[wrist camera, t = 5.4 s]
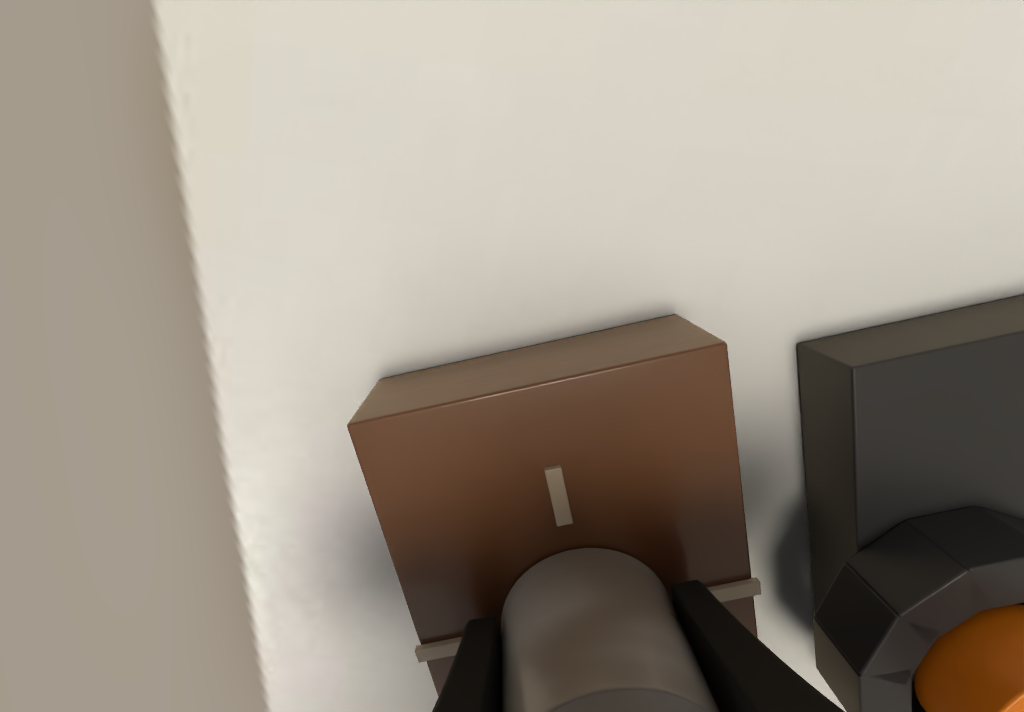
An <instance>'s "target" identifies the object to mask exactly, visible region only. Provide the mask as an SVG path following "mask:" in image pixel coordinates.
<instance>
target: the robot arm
mask: <svg viewBox="0 0 1024 712" xmlns="http://www.w3.org/2000/svg"><path fill="white" fill-rule="evenodd" d="M671 592H672V600H673V607H674V609H675V611H676V614H677V616H678V618H679V620H680V623H681V625H682V627H683V629H684V632H685V634H686V636H687V638H688V641H689V643H690V645H691V647H692V650H693V652H694V654H695V656H696V659H697V661H698V663H699V665H700V668H701V670H702V672H703V674H704V677H705V679H706V681H707V683H708V685H709V688H710V690H711V692H712V694H713V697H714V699H715V701H716V703H717V706H718V708H719V710H720V712H844V711H843V710H842V709H840V708H839V707H838V706H837V705H835V704H834V703H833V702H831V701H830V700H829V699H828V698H826V697H825V696H824V695H823V694H821V693H820V692H819V691H818V690H816V689H815V688H814V687H813V686H811V685H810V684H809V683H808V682H807V681H805V680H804V679H803V678H802V677H801V676H799V675H798V674H797V673H796V672H795V671H793V670H792V669H791V668H790V667H789V666H788V665H786V664H785V663H784V662H783V661H782V660H781V659H780V658H778V657H777V656H776V655H775V654H774V653H773V652H772V651H771V650H770V649H769V648H767V647H766V646H765V645H764V644H763V643H762V642H761V641H760V640H759V639H758V638H756V637H755V636H754V635H753V634H752V633H751V632H750V631H749V630H748V629H747V628H746V627H745V626H744V625H743V624H742V623H741V622H740V621H739V620H738V619H737V618H736V617H735V616H734V615H733V614H732V613H731V612H730V611H729V610H728V609H727V608H726V607H725V606H724V605H723V604H722V603H721V602H720V601H719V600H718V599H717V598H716V597H715V596H714V595H713V594H712V593H711V592H710V591H709V590H708V589H707V587H706V586H705V585H704V584H703V583H702V582H700V581H699V580H691V581H686V582H680V583H675V584H671ZM432 712H502V654H501V636H500V632H499V627H498V623H497V619H496V615H495V616H489V617H484V618H478V619H472V620H469V621H468V623H467V624H466V626H465V629H464V632H463V636H462V638H461V641H460V644H459V647H458V650H457V653H456V655H455V658H454V661H453V663H452V666H451V669H450V671H449V674H448V676H447V679H446V681H445V683H444V686H443V688H442V690H441V693H440V695H439V697H438V700H437V702H436V704H435V707H434V709H433V711H432Z"/></svg>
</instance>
